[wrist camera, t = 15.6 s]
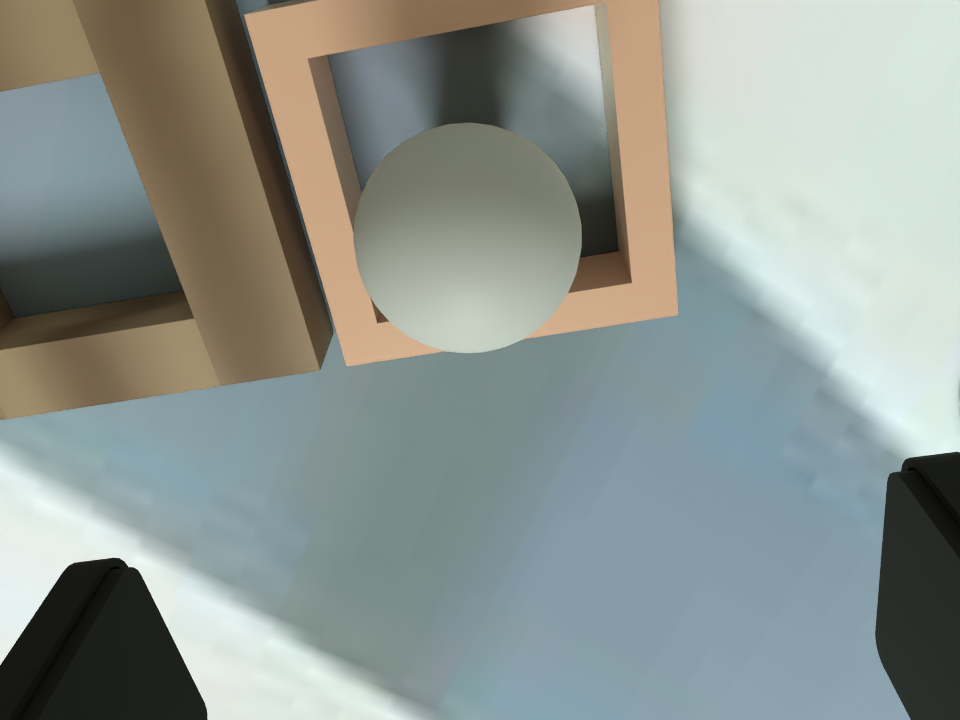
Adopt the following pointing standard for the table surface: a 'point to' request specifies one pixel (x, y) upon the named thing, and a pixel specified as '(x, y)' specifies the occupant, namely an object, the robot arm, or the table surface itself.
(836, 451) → the table surface
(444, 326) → the lightbulb
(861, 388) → the table surface
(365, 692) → the table surface
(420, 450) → the table surface
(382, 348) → the terracotta stand
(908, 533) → the robot arm
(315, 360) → the walnut holder
